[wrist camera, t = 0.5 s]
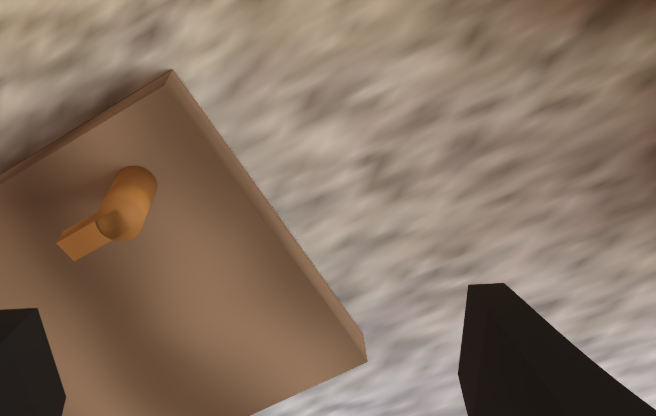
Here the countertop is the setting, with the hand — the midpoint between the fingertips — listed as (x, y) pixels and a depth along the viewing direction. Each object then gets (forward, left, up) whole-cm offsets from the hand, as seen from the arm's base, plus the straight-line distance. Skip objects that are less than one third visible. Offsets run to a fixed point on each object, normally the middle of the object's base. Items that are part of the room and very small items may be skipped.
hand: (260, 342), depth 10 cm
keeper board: (-11, +8, -10) cm, 17 cm away
